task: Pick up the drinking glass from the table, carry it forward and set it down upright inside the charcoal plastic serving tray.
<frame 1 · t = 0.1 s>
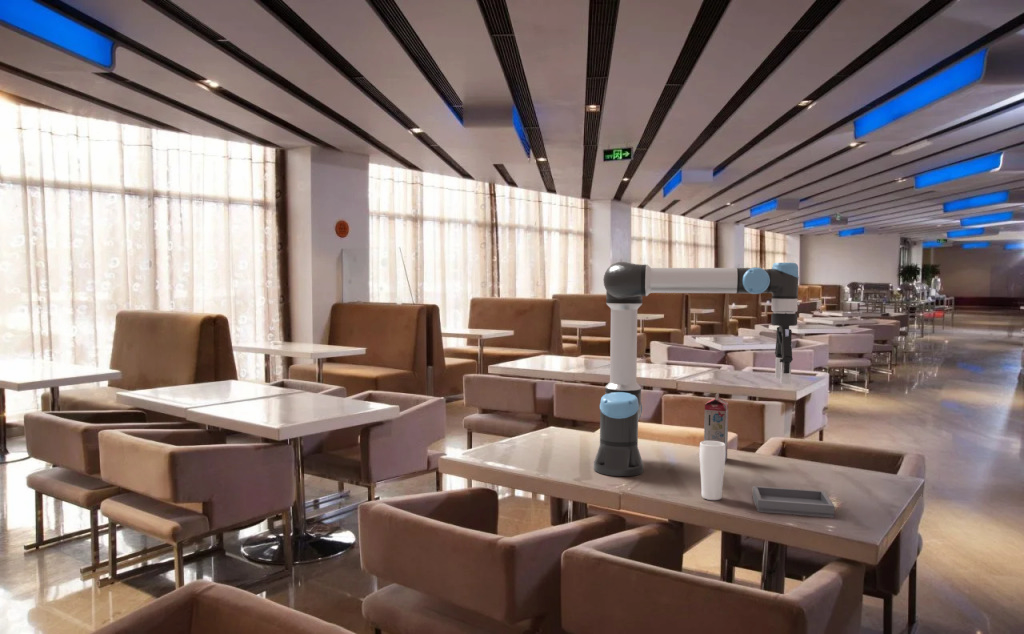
hand: (782, 381, 217), 28 cm above the table, fingers open, 13 cm apart
drinking glass: (711, 498, 190), on the table
juice carton: (715, 460, 232), on the table
tray: (791, 506, 183), on the table
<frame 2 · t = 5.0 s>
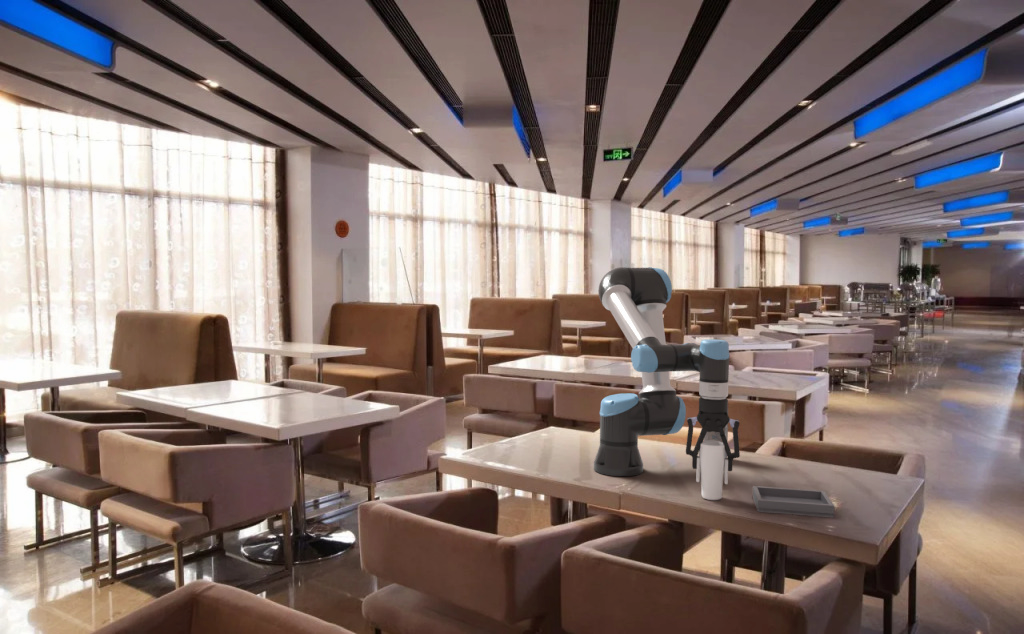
hand: (711, 481, 189), 5 cm above the table, fingers closed on drinking glass, 7 cm apart
drinking glass: (711, 498, 190), on the table, touching gripper
everything else where it was.
when the fingers open (6 cm above the table, at t = 11.4 s): drinking glass stays where it is, resting on tray.
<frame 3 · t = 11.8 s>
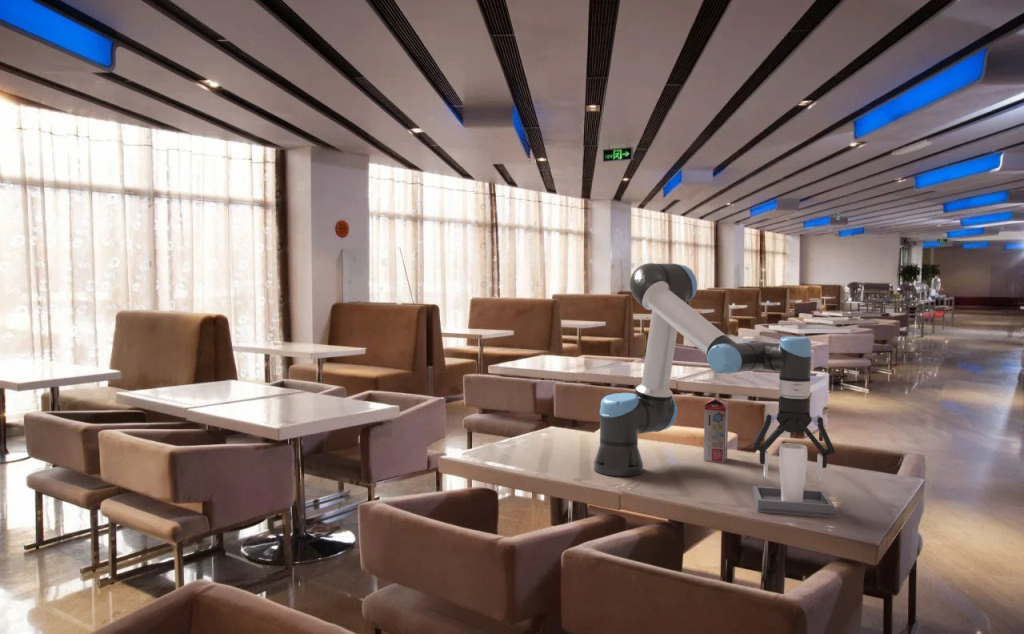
hand: (792, 478, 182), 8 cm above the table, fingers open, 12 cm apart
drinking glass: (791, 503, 182), point 1 cm above the table, touching tray
everything else where it was.
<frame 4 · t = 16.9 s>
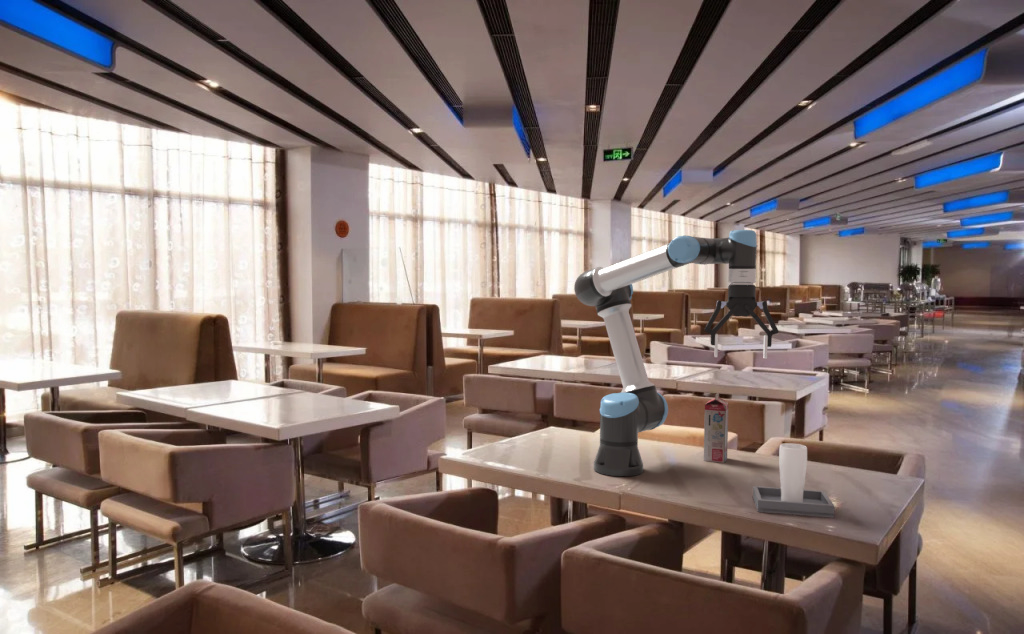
hand: (740, 357, 203), 37 cm above the table, fingers open, 13 cm apart
nothing on the table moved.
at the end: drinking glass inside the target area on the tray (0.0 cm from its centre), point 0.8 cm above the tray's base; drinking glass tilted 0°; the gripper is holding nothing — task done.
